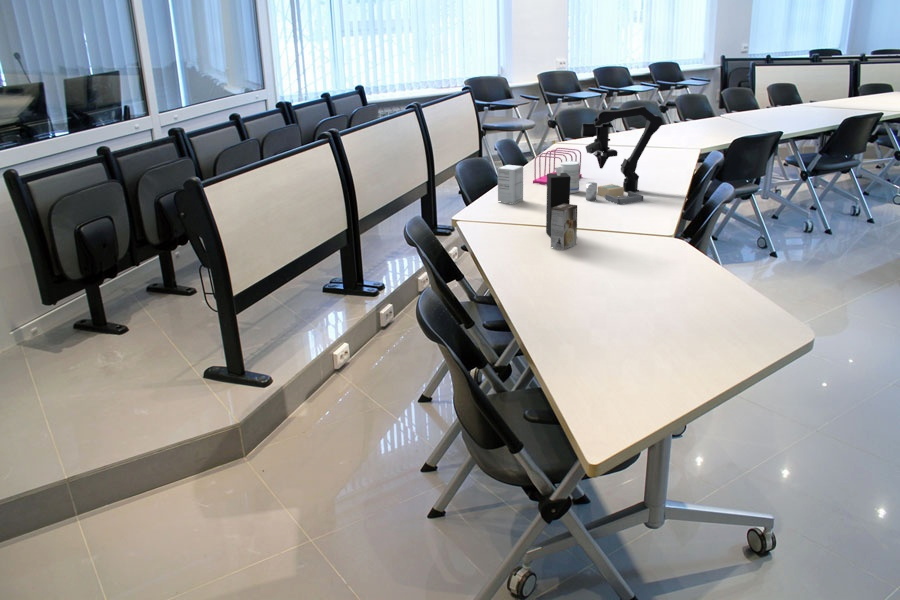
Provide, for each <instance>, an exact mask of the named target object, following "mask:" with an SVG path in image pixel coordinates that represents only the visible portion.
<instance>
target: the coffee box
mask: <svg viewBox="0 0 900 600" xmlns="http://www.w3.org/2000/svg"><path fill="white" fill-rule="evenodd" d="M577 232H578V205H577V204H572V203H570V204H565V203H564V204H561V205H558V206H555V207H553V208H551V237H550V248H551V247H553V248H552V249H555V248H558V249H557V250H560V249H562V250H561V251H566V250H568V249H570V248H573V247H574V246H576V245H577V242H578V241H577V239H578V238H577V235H578V234H577ZM569 247H570V248H569ZM567 248H568V249H567ZM565 249H566V250H565Z"/></svg>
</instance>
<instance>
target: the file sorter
mask: <svg viewBox="0 0 900 600" xmlns="http://www.w3.org/2000/svg"><path fill="white" fill-rule="evenodd" d="M575 151H576V152H579V165H580V170H582V169H581V167H582V166H581V165H582V164H581V163H582V153H581V150H579V149H575V148H574V149H573V148H568V147H556V148H555V149H552V150H549V151H546V152H542V153H541V154H540V155H537V156H535V158H534V180H532V184H534V183H540V184H539V185H545V184H547V173H546V170H547V158H549V160H548V162H549V163H548V174H550V173H557V172H556V170H555V168H556V159H559V161H560V164H561V163H562V162H563V159H562V158H561V157H559V156H562V157H564V158H565V162H566V161H568V159H567V156H566V155H569V156H570V159H571V161H575V162H578V161H577V159H578V158H577V153H576V152H575ZM571 153H572V154H574V155H575V156H574V157H575V160H574V159H573V155H572V154H571ZM565 154H566V155H565ZM551 155H553V156H551ZM538 158H539V159H538ZM541 158H544V172H543V173H544V174H543V176H541V172H542V171H541ZM551 158H553V171H551ZM537 159H538V162H539V163H538V167H539V174H538V175H539V177H537V176H536V174H537V169H536V168H537V165H536V164H537V162H536V161H537ZM536 177H537V178H536ZM580 177H581V178H582V174H581V173H580V175H579V179H580Z"/></svg>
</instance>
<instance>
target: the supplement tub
mask: <svg viewBox="0 0 900 600" xmlns="http://www.w3.org/2000/svg"><path fill="white" fill-rule="evenodd" d="M560 167H562V170H561V173H567V174H568V175H569V176H570V177H571V180H570V194H575V193H578V192H579V191H580V178H579V175H580V174H581V169H580V161H577V162H575V160H573V161H570V160H569V161H568V160H567V161H566V160H565V161H562V163H561V162H560Z"/></svg>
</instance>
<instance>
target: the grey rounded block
mask: <svg viewBox="0 0 900 600" xmlns="http://www.w3.org/2000/svg"><path fill="white" fill-rule="evenodd" d="M585 186H586V189H585V192H586V193H585V200H586V201H587V202H596V201H597V197H598V195H597V192H598V183H597V182H594V181H592V182H586V185H585ZM595 200H596V201H595Z"/></svg>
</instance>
